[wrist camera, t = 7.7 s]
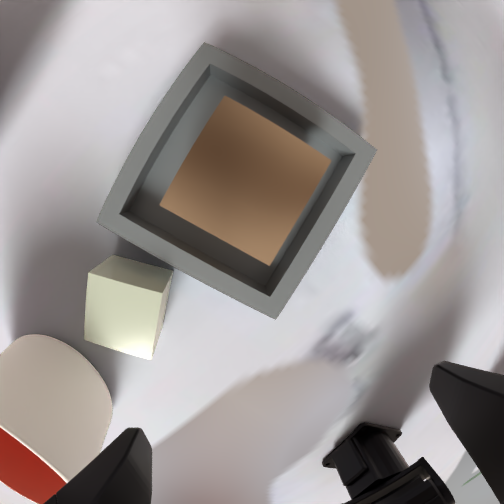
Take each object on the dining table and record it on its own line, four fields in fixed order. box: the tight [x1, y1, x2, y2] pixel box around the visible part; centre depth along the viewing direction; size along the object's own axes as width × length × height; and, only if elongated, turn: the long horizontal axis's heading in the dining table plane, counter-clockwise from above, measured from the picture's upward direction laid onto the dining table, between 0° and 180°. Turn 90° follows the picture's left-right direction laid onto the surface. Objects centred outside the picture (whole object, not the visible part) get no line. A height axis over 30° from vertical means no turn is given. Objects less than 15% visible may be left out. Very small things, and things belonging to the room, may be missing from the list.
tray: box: [96, 42, 377, 320], centre depth 16 cm, size 11×11×3 cm
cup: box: [0, 334, 113, 504], centre depth 14 cm, size 10×10×10 cm
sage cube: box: [84, 255, 173, 360], centre depth 16 cm, size 4×4×4 cm
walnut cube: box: [160, 96, 331, 266], centre depth 14 cm, size 5×5×5 cm
